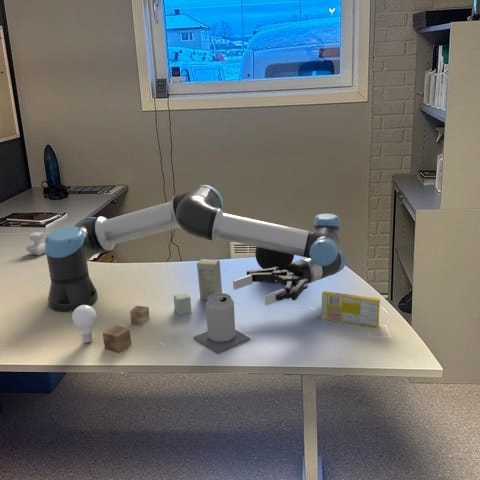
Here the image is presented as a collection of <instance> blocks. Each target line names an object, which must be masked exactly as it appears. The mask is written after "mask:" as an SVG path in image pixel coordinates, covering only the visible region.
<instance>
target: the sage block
mask: <svg viewBox="0 0 480 480" xmlns="http://www.w3.org/2000/svg"><path fill="white" fill-rule="evenodd" d="M173 305H174V311H175V312H176V313H177V315H178V316H180V315H185V314H189V313H192V302H191V296H190V295H189V294H188V293H187V291H185V292H181V293H176V294H173Z"/></svg>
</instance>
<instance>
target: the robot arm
mask: <svg viewBox="0 0 480 480" xmlns="http://www.w3.org/2000/svg"><path fill="white" fill-rule="evenodd" d="M223 208H224V201H223V197H222V195H221V193H220V191H218V189H216V188H215V187H214V186H211V185H209V184H201V185H197V186H195V187H193V188H192V189H191V190H188V191H185V192H181V193H178V194H174V196H172V198H171V200H170V201H168V202H165V203H161V204H157V205H153V206H150V207H145V208H143V209H140V210H136V211H132V212H129V213H124V214H121V215H118V216H114V217H111V218H107V217H105V216H98V217H94V216H90V217H85V218H82V219H81V220H79V221H78V222H77V223H75V224H74V225H73V226H72V225H71V226H69V225H67V226H62V227H59V228H55V229H53V230H52V231H50V232H49V233H48V234H47V235H45V238H44V243H45V251H46V259H47V264H48V266H47V267H48V270H49V271H48V272H49V277H50V286H49V291H48V295H47V296H48V297H47V303H48V307H49V308H50V310H53V311H55V312H56V311H57V312H74V310H75V309H76V308H77V307H79V306H81V305H89V306H91V307H92V306H93V305H94V304H95V303H96V302H97V300H98V299H99V298H98V291H97V289H96V287H95V285H94V282H93V281H92V279H91V277H90V273H89V265H88V261H89V260H90V259H91V258H93V256H95V255H99V254H102V253H106V252H110V251H112V250H113V249H114V248H115V246H116V245H117V244H122V243H124V242H125V243H126V242H129V241H132V240H135V239H139V238H144V237H147V236H152V235H155V234H159V233H162V232H163V233H164V232H165V231H170V230H173V229H180V230H182V231H183V232H185V233H186V234H187V235H190V236H192V237H196V238H199V239H203V240H206V241H207V240H208V241H211V242H212V241H213V242H216V241H217V240H218V239H219V240H224V241H228V242H234V243H238V244H241V245H242V244H243V245H247V246H251V247H255V248H256V247H260V248H265V249H269V250H274V251H279V252H283V253H288V254H292V255H294V256H297V257H303V259H299V260H298V261H295V262H292V263H291V264H289V265H288V267H287V268H286V270H281V271H279V270H278V267H273V268H268V269H262V268H259V269H252V270H247V271H246V275H245V276H241V277H239V278H236V279H233V281H232V286H233V287H232V288H233V290H234V291H236V290H239V289H241V288H244V287H247V286H250V285H253V283H268V282H273V283H272V284H280V285H282V286H285V288H281V289H278V290H275V291H273V292H270V293H267V294H265V295H264V305H265V306H270V305H272V304H274V303H277V302H279V301H283V300H285V299H286V300H289V299H291V301H296V300H297V299H298V298H299V296H301V294H302V293H303V291H304V290H306V289H307V290H308V288H309V284H312V283H314V282H316V281H319V280H322V279H325V278H328V277H331V276H333V275H336V274H338V273H339V272H341V271H342V270H344V268H345V266H346V258H345V255H344V253H343V252H342V251H341V250H340V248H339V243H340V228H341V227H340V217H339V216H338V215H336V214H334V213H319V214H317V215H315V216H314V220H313V222H314V223H313V231H309V230H306V229H300V228H296V227H291V226H287V225H283V224H277V223H273V222H267V221H264V220H258V219H254V218H249V217H243V216H239V215H235V214H231V213H226V212H224V211H223ZM276 276H277V280H275V277H276ZM293 287H294V288H293Z"/></svg>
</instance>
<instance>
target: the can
mask: <svg viewBox="0 0 480 480" xmlns="http://www.w3.org/2000/svg"><path fill="white" fill-rule="evenodd" d="M205 310H206V313H205V314H206V327H207V328H206V329H207V331H208V337H209V338H210V339H211V340H213V341H214V342H219V343H223V342H227V341H230V340H231V339H232V338H233V337H234V336H235V330H236V324H235V323H236V322H235V321H236V320H235V318H236V317H235V302H234V300H233V299H232V296H231V295H230V294H228V293H223V292H222V293H216V294H212V295H211V296H209V297H208V299H207V301H206V302H205Z"/></svg>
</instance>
